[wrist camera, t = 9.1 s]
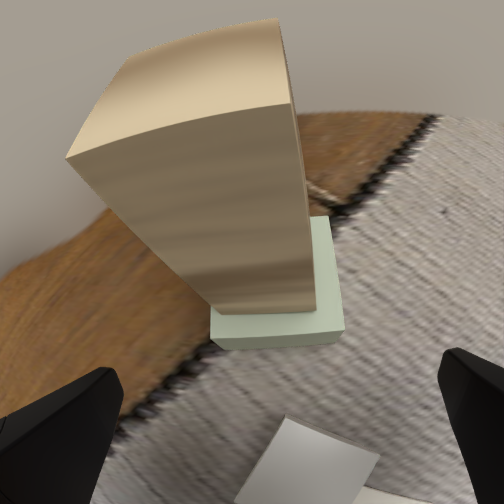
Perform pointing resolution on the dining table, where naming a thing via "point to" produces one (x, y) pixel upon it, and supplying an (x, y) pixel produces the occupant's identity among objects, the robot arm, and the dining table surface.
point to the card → (383, 498)
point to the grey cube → (307, 467)
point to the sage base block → (291, 323)
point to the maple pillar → (209, 166)
